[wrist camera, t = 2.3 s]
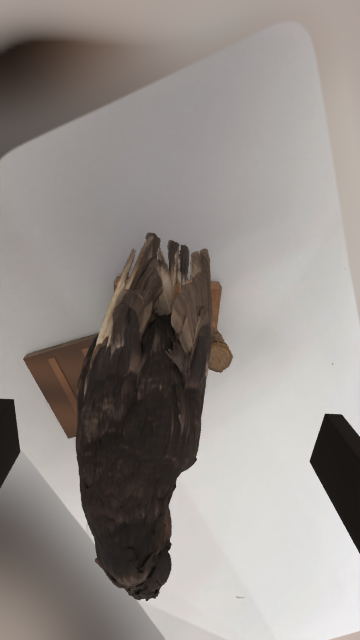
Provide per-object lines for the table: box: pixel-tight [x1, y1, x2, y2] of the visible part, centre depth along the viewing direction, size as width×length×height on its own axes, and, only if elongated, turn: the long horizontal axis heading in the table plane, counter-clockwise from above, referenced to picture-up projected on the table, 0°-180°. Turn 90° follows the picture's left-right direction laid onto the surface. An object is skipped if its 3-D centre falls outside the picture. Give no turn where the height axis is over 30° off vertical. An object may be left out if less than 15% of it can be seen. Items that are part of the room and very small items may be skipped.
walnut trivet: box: [23, 334, 97, 439], centre depth 37 cm, size 12×10×1 cm
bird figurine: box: [76, 233, 233, 601], centre depth 22 cm, size 11×14×25 cm
